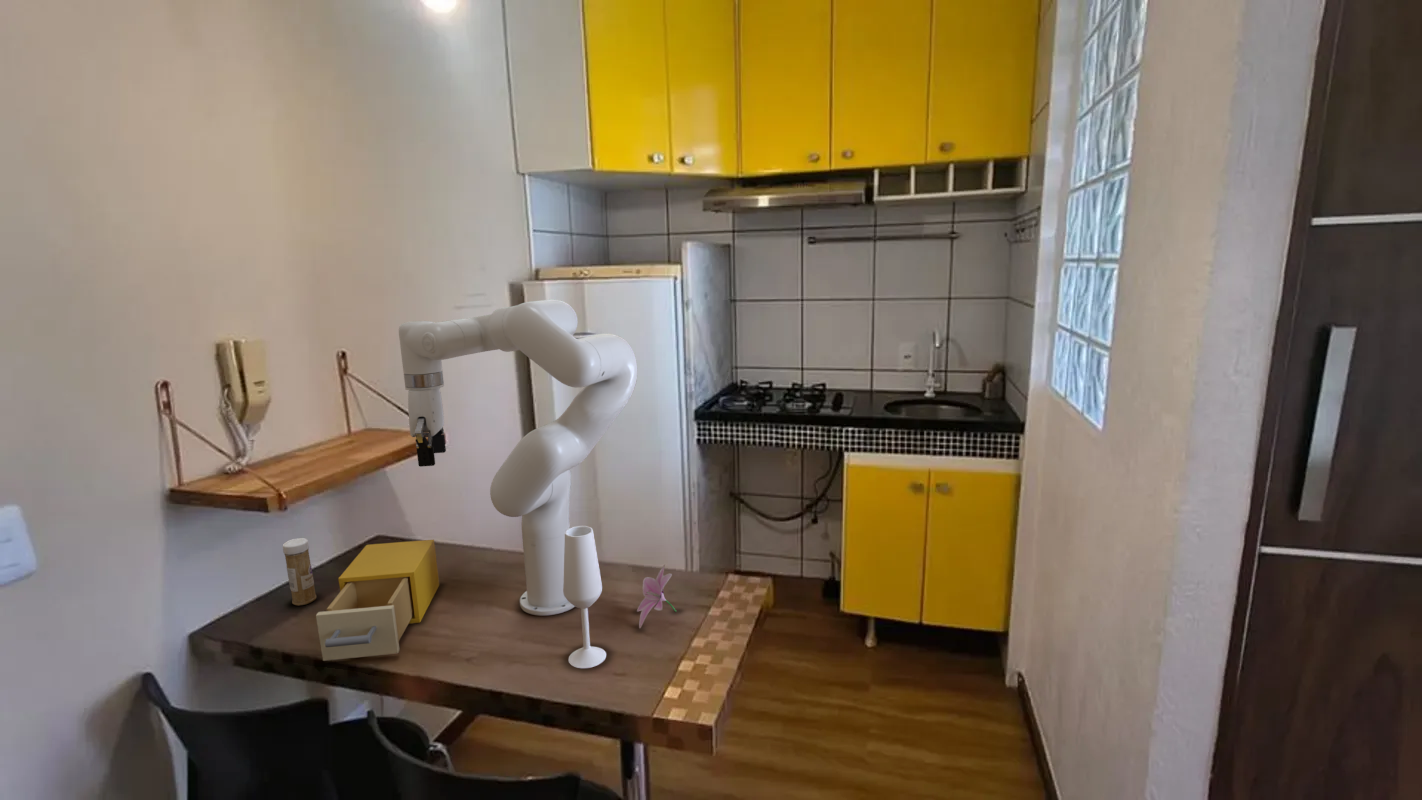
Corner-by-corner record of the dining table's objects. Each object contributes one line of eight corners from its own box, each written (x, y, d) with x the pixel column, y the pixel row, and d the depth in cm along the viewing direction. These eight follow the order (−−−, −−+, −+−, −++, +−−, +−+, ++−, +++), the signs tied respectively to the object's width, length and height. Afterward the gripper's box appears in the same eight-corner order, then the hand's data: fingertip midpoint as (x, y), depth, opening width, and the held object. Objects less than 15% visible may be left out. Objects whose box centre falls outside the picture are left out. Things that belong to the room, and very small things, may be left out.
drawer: (390, 668, 117) (383, 621, 115) (312, 676, 115) (304, 629, 113) (419, 612, 135) (414, 571, 133) (352, 618, 133) (346, 577, 132)
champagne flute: (599, 669, 117) (590, 540, 112) (562, 666, 118) (552, 538, 113) (611, 648, 123) (604, 524, 118) (576, 645, 124) (567, 522, 119)
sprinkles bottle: (317, 602, 142) (308, 542, 139) (292, 608, 140) (282, 548, 137) (316, 593, 146) (307, 535, 143) (291, 599, 143) (281, 540, 141)
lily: (649, 600, 142) (626, 568, 138) (699, 584, 138) (676, 552, 135) (639, 646, 132) (613, 613, 128) (691, 631, 128) (667, 597, 124)
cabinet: (420, 622, 133) (413, 572, 131) (345, 629, 131) (338, 578, 129) (439, 585, 148) (434, 539, 146) (373, 591, 147) (366, 544, 144)
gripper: (416, 374, 149) (424, 449, 153) (392, 389, 132) (402, 472, 136) (451, 373, 150) (459, 447, 154) (432, 387, 133) (441, 470, 137)
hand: (432, 459), depth 145 cm, fingers open, 9 cm apart
